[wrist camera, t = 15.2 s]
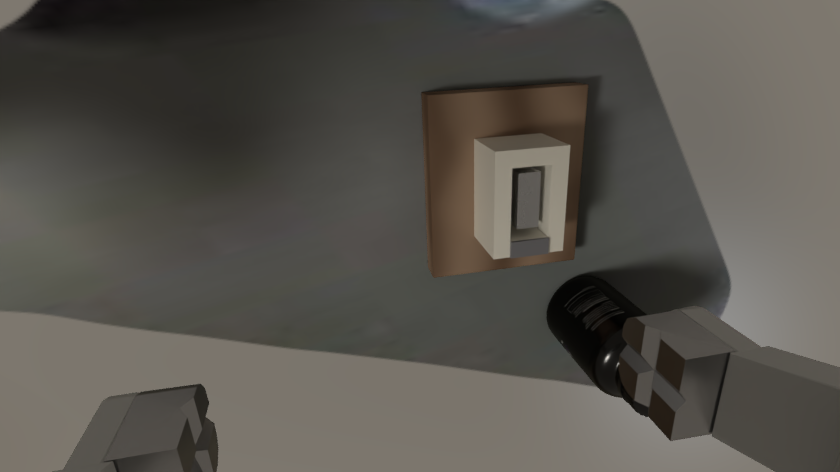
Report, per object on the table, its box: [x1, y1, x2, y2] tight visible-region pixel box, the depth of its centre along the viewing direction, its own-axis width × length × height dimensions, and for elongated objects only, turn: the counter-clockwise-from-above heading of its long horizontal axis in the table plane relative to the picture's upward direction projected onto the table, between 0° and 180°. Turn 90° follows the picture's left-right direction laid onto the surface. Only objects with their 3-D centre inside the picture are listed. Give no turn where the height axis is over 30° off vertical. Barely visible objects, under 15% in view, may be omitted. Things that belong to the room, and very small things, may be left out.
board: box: [421, 82, 588, 278], centre depth 39 cm, size 12×14×2 cm
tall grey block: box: [511, 167, 541, 229], centre depth 36 cm, size 2×4×4 cm, turn 2°
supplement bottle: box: [547, 276, 648, 417], centre depth 41 cm, size 7×7×12 cm
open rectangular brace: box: [474, 133, 570, 259], centre depth 36 cm, size 8×5×5 cm
